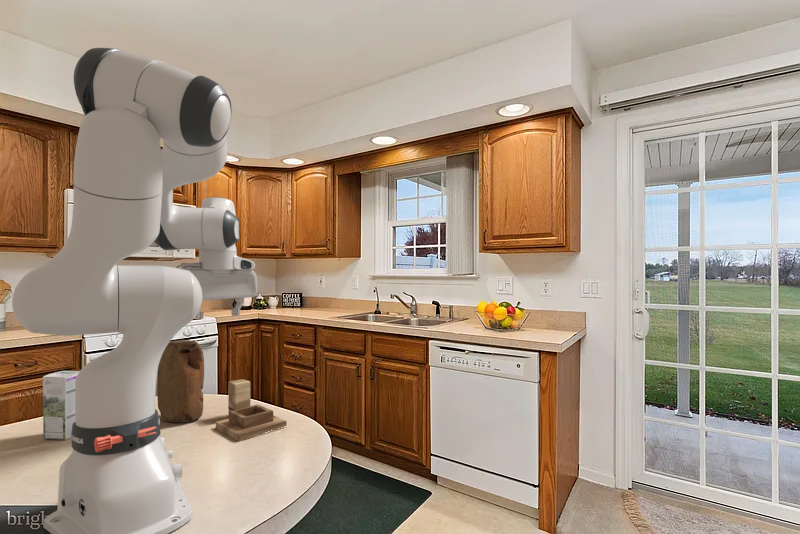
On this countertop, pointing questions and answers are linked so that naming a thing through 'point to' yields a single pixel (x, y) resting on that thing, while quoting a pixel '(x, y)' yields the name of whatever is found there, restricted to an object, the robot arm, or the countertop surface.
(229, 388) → the peg
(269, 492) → the countertop surface
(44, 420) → the syrup box
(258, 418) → the brown wooden socket base
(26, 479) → the countertop surface
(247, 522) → the countertop surface
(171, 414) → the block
